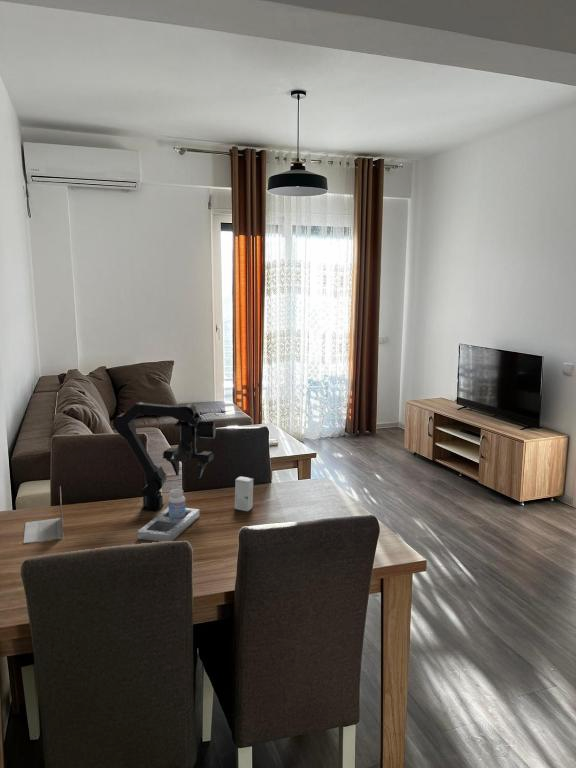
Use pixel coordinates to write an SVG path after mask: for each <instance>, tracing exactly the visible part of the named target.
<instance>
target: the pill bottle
mask: <svg viewBox="0 0 576 768" xmlns="http://www.w3.org/2000/svg"><path fill="white" fill-rule="evenodd" d="M169 495H170V496H169V497H168V507H169V517H171V518H178V519H183V518H184V517H185V508H186V497H185V496H184V490H183V488H173V489H171V490H170V493H169Z"/></svg>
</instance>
